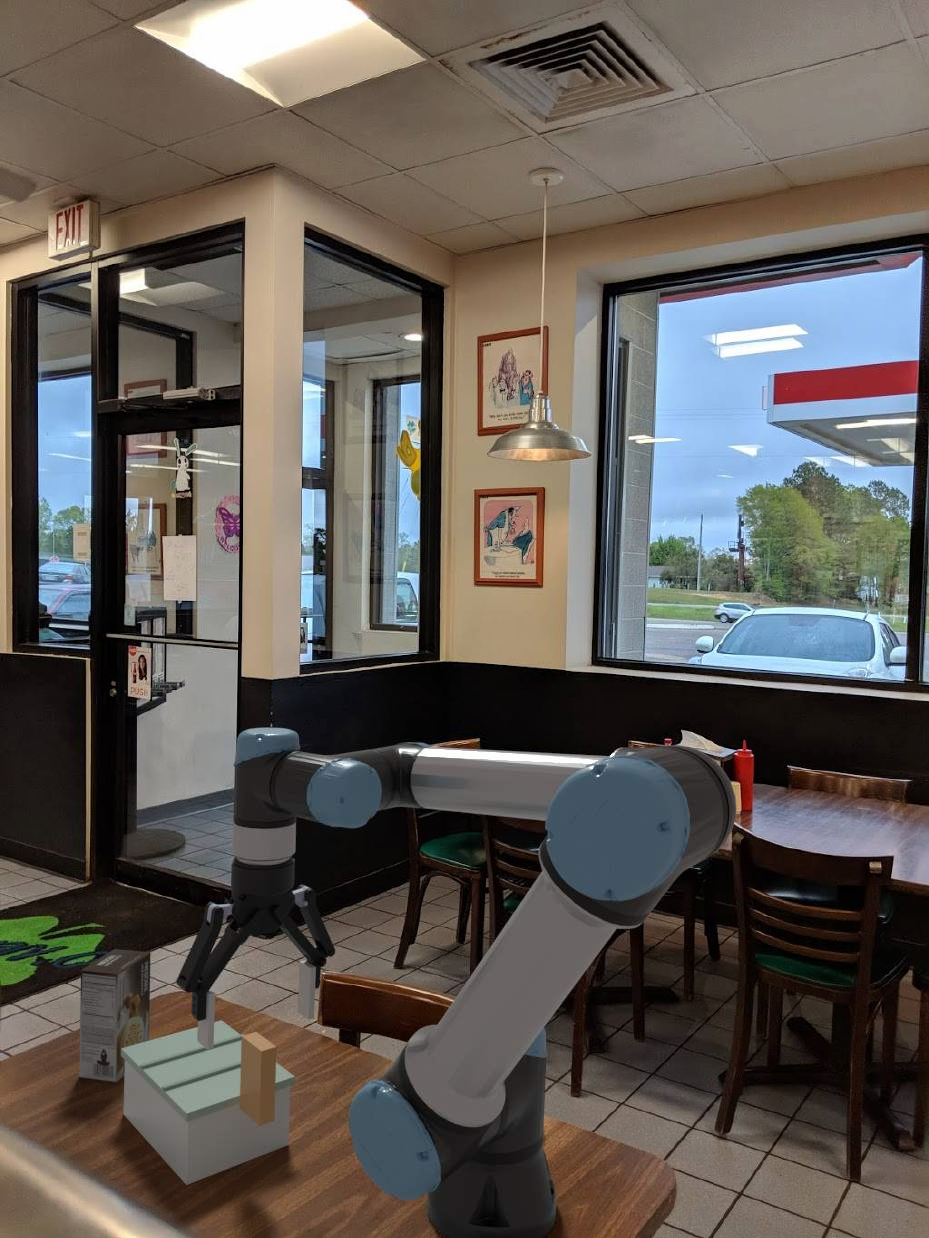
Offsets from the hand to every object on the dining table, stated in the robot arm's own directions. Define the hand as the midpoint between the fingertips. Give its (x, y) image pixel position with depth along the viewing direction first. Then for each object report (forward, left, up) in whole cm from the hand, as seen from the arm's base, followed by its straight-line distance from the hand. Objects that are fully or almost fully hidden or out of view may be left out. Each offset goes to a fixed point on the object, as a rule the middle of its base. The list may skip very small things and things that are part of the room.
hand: (257, 1029), depth 116 cm
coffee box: (+38, +3, -19) cm, 42 cm away
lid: (+11, 0, -12) cm, 16 cm away
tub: (+14, 0, -18) cm, 23 cm away
